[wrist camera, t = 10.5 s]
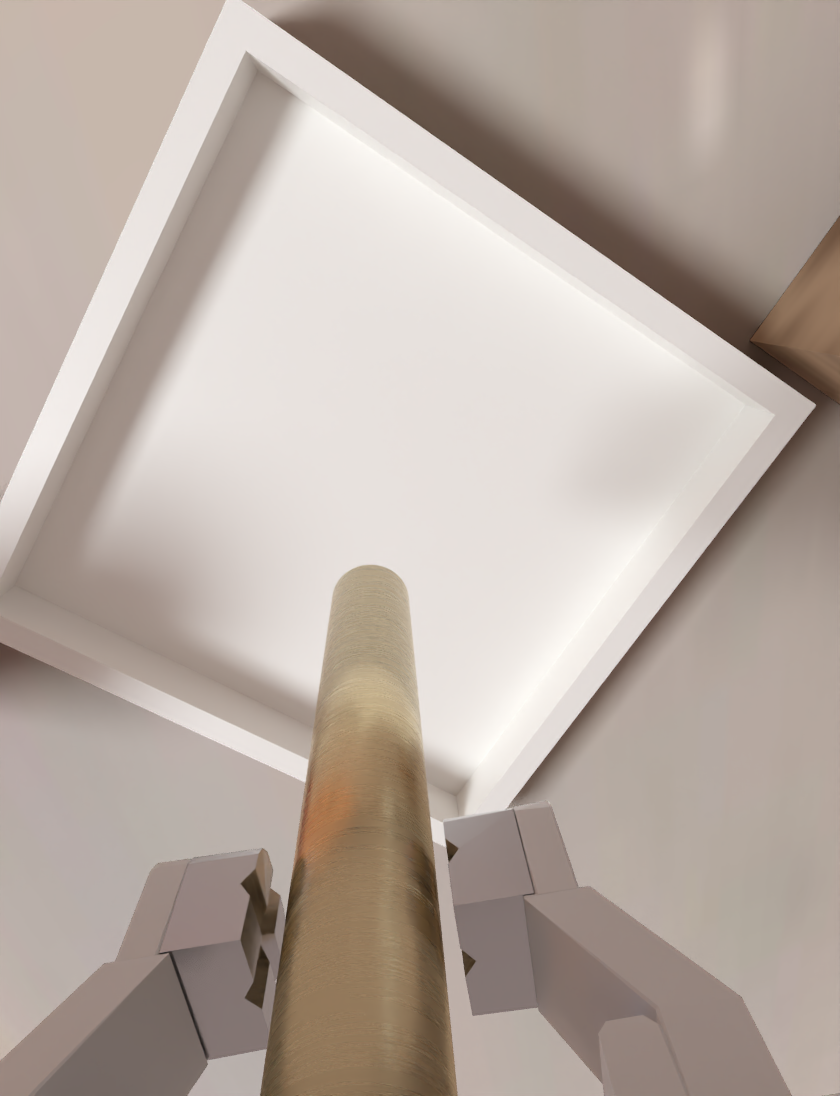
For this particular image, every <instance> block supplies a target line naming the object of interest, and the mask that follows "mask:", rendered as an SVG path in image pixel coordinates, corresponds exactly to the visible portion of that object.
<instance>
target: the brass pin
mask: <svg viewBox="0 0 840 1096" xmlns="http://www.w3.org/2000/svg"><path fill="white" fill-rule="evenodd" d="M260 1096H458V1095H457V1085H456V1074H455V1064H454V1054H453V1044H452V1034H451V1024H450V1013H449V1003H448V993H447V983H446V973H445V962H444V952H443V942H442V932H441V922H440V911H439V901H438V891H437V881H436V871H435V860H434V850H433V840H432V830H431V820H430V809H429V799H428V789H427V779H426V769H425V758H424V748H423V738H422V728H421V718H420V707H419V697H418V687H417V677H416V667H415V656H414V646H413V636H412V626H411V616H410V605H409V596H408V591H407V588H406V586H405V584H404V582H403V581H402V579H401V578H400V577H399V576H398V575H397V574H396V573H395V572H393V571H391V570H390V569H388V568H386V567H382V566H378V565H363V566H359V567H356V568H353V569H351V570H350V571H348V572H346V573H345V574H344V575H343V576H342V577H341V578H340V579H339V581H338V582H337V584H336V586H335V588H334V591H333V595H332V602H331V609H330V616H329V623H328V630H327V637H326V644H325V651H324V658H323V664H322V671H321V678H320V685H319V692H318V699H317V706H316V713H315V720H314V727H313V734H312V740H311V747H310V754H309V761H308V768H307V775H306V782H305V789H304V796H303V803H302V810H301V817H300V823H299V830H298V837H297V844H296V851H295V858H294V865H293V872H292V879H291V886H290V893H289V899H288V906H287V913H286V920H285V927H284V934H283V941H282V948H281V955H280V962H279V969H278V976H277V982H276V989H275V996H274V1003H273V1010H272V1017H271V1024H270V1031H269V1038H268V1045H267V1052H266V1058H265V1065H264V1072H263V1079H262V1086H261V1093H260Z"/></svg>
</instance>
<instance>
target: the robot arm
mask: <svg viewBox="0 0 840 1096" xmlns="http://www.w3.org/2000/svg"><path fill="white" fill-rule="evenodd" d="M443 825H444V835H445V842H446V848H447V854H448V860H449V864H448V868H449V875H450V883H451V891H452V899H453V906H454V912H455V918H456V924H457V931H458V937H459V943H460V949H462V955H463V963H464V970H465V977H466V983H467V988H468V993H469V999H470V1004H471V1009H472V1015H473V1016H475V1015H483V1014H491V1013H498V1012H506V1011H514V1010H522V1009H529V1008H537V1007H538V1009H539V1012H540V1013H541V1014H542V1015H543V1016H544V1017H545V1019H546V1020H547V1021H548V1022H549V1023H550V1024H551V1025H552V1027H553V1028H554V1029H555V1030H556V1031H557V1032H558V1033H559V1035H560V1036H561V1037H562V1038H563V1039H564V1040H565V1041H566V1043H567V1044H568V1045H569V1046H570V1047H571V1048H572V1049H573V1051H574V1052H575V1053H576V1054H577V1055H578V1056H579V1058H580V1059H581V1060H582V1061H583V1062H584V1063H585V1064H586V1066H587V1067H588V1068H589V1069H590V1070H591V1071H592V1072H593V1074H594V1075H595V1076H596V1077H597V1078H598V1079H599V1080H600V1082H601V1083H602V1084H603V1090H604V1096H792V1095H791V1093H790V1091H789V1089H788V1087H787V1085H786V1083H785V1081H784V1079H783V1077H782V1075H781V1073H780V1071H779V1069H778V1068H777V1066H776V1064H775V1062H774V1060H773V1058H772V1056H771V1054H770V1052H769V1050H768V1048H767V1046H766V1044H765V1042H764V1040H763V1038H762V1036H761V1034H760V1032H759V1030H758V1028H757V1026H756V1024H755V1022H754V1020H753V1018H752V1016H751V1014H750V1012H749V1011H748V1009H747V1007H746V1005H745V1003H744V1001H743V999H742V997H741V996H740V995H738V994H737V993H736V992H734V991H733V990H731V989H730V988H729V987H727V986H726V985H725V984H723V983H722V982H720V981H719V980H718V979H716V978H715V977H714V976H712V975H711V974H709V973H708V972H707V971H705V970H704V969H703V968H701V967H700V966H699V965H697V964H696V963H694V962H693V961H692V960H690V959H689V958H688V957H686V956H685V955H683V954H682V953H681V952H679V951H678V950H677V949H675V948H674V947H673V946H671V945H670V944H668V943H667V942H666V941H664V940H663V939H662V938H660V937H659V936H657V935H656V934H655V933H653V932H652V931H651V930H649V929H648V928H646V927H645V926H644V925H642V924H641V923H640V922H638V921H637V920H636V919H634V918H633V917H631V916H630V915H629V914H627V913H626V912H625V911H623V910H622V909H620V908H619V907H618V906H616V905H615V904H614V903H612V902H611V901H609V900H608V899H607V898H605V897H604V896H603V895H601V894H600V893H599V892H597V891H596V890H594V889H593V888H592V887H590V886H586V887H578V884H577V881H576V878H575V875H574V872H573V869H572V866H571V863H570V860H569V857H568V854H567V851H566V848H565V845H564V842H563V839H562V836H561V833H560V830H559V827H558V824H557V821H556V818H555V815H554V812H553V809H552V806H551V804H550V803H549V802H548V801H543V802H537V803H532V804H526V805H521V806H515V807H513V809H512V808H509V809H503V810H497V811H491V812H485V813H479V814H473V815H467V816H461V817H455V818H449V819H443ZM272 875H273V868H272V865H271V862H270V858H269V855H268V852H267V851H266V850H264V849H263V848H260V849H253V850H245V851H238V852H231V853H223V854H216V855H208V856H201V857H194V858H193V859H183V860H176V861H169V862H162V863H158V864H157V865H156V866H155V867H154V868H153V869H152V870H151V871H150V873H149V876H148V878H147V881H146V883H145V886H144V889H143V891H142V894H141V896H140V899H139V901H138V904H137V906H136V909H135V912H134V914H133V917H132V919H131V922H130V924H129V927H128V929H127V932H126V935H125V937H124V940H123V942H122V945H121V947H120V950H119V953H118V955H117V958H116V960H115V962H110V963H104V964H103V965H102V966H101V967H100V968H99V969H98V970H97V971H96V972H94V973H93V974H92V975H91V976H90V977H89V978H88V979H87V980H86V981H85V982H84V983H83V984H82V985H81V986H80V987H78V988H77V989H76V990H75V991H74V992H73V993H72V994H71V995H70V996H69V997H68V998H67V999H66V1000H65V1001H64V1002H63V1003H61V1004H60V1005H59V1006H58V1007H57V1008H56V1009H55V1010H54V1011H53V1012H52V1013H51V1014H50V1015H49V1016H48V1017H47V1018H45V1019H44V1020H43V1021H42V1022H41V1023H40V1024H39V1025H38V1026H37V1027H36V1028H35V1029H34V1030H33V1031H32V1032H31V1033H30V1034H28V1035H27V1036H26V1037H25V1038H24V1039H23V1040H22V1041H21V1042H20V1043H19V1044H18V1045H17V1046H16V1047H15V1048H14V1049H12V1050H11V1051H10V1052H9V1053H8V1054H7V1055H6V1056H5V1057H4V1058H3V1059H2V1060H1V1061H0V1096H187V1095H188V1093H189V1092H190V1090H191V1089H192V1087H193V1086H194V1084H195V1083H196V1081H197V1080H198V1078H199V1077H200V1076H201V1074H202V1073H203V1071H204V1070H205V1068H206V1067H207V1065H208V1063H207V1060H211V1059H216V1058H222V1057H227V1056H232V1055H237V1054H242V1053H248V1052H253V1051H258V1050H263V1049H267V1045H268V1038H269V1031H270V1024H271V1017H272V1010H273V1003H274V996H275V989H276V982H275V980H276V979H277V976H278V969H279V962H280V955H281V948H282V941H283V934H284V927H285V914H284V908H283V904H282V901H281V897H280V895H279V894H278V893H276V892H275V891H274V890H272V889H271V888H270V887H271V881H272ZM824 1096H840V1093H837V1094H830V1095H824Z"/></svg>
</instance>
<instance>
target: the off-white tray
mask: <svg viewBox="0 0 840 1096" xmlns="http://www.w3.org/2000/svg"><path fill="white" fill-rule="evenodd" d="M815 406H816V404H814V403H813V402H811V401H810V400H808V399H807V398H806V397H804V396H803V395H801V394H800V393H799V392H797V391H796V390H794V389H793V388H791V387H790V386H789V385H787V384H786V383H784V382H783V381H781V380H780V379H779V378H777V377H776V376H774V375H773V374H772V373H770V372H769V371H767V370H766V369H764V368H763V367H762V366H760V365H759V364H757V363H756V362H754V361H753V360H752V359H750V358H749V357H747V356H746V355H745V354H743V353H742V352H740V351H739V350H737V349H736V348H735V347H733V346H732V345H730V344H729V343H727V342H726V341H725V340H723V339H722V338H720V337H719V336H718V335H716V334H715V333H713V332H712V331H710V330H709V329H708V328H706V327H705V326H703V325H702V324H700V323H699V322H698V321H696V320H695V319H693V318H692V317H691V316H689V315H688V314H686V313H685V312H683V311H682V310H681V309H679V308H678V307H676V306H675V305H674V304H672V303H671V302H669V301H668V300H666V299H665V298H664V297H662V296H661V295H659V294H658V293H656V292H655V291H654V290H652V289H651V288H649V287H648V286H647V285H645V284H644V283H642V282H641V281H639V280H638V279H637V278H635V277H634V276H632V275H631V274H629V273H628V272H627V271H625V270H624V269H622V268H621V267H620V266H618V265H617V264H615V263H614V262H612V261H611V260H610V259H608V258H607V257H605V256H604V255H602V254H601V253H600V252H598V251H597V250H595V249H594V248H593V247H591V246H590V245H588V244H587V243H585V242H584V241H583V240H581V239H580V238H578V237H577V236H575V235H574V234H573V233H571V232H570V231H568V230H567V229H566V228H564V227H563V226H561V225H560V224H558V223H557V222H556V221H554V220H553V219H551V218H550V217H548V216H547V215H546V214H544V213H543V212H541V211H540V210H539V209H537V208H536V207H534V206H533V205H531V204H530V203H529V202H527V201H526V200H524V199H523V198H521V197H520V196H519V195H517V194H516V193H514V192H513V191H512V190H510V189H509V188H507V187H506V186H504V185H503V184H502V183H500V182H499V181H497V180H496V179H494V178H493V177H492V176H490V175H489V174H487V173H486V172H485V171H483V170H482V169H480V168H479V167H477V166H476V165H475V164H473V163H472V162H470V161H469V160H467V159H466V158H465V157H463V156H462V155H460V154H459V153H458V152H456V151H455V150H453V149H452V148H450V147H449V146H448V145H446V144H445V143H443V142H442V141H440V140H439V139H438V138H436V137H435V136H433V135H432V134H431V133H429V132H428V131H426V130H425V129H423V128H422V127H421V126H419V125H418V124H416V123H415V122H413V121H412V120H411V119H409V118H408V117H406V116H405V115H404V114H402V113H401V112H399V111H398V110H396V109H395V108H394V107H392V106H391V105H389V104H388V103H386V102H385V101H384V100H382V99H381V98H379V97H378V96H377V95H375V94H374V93H372V92H371V91H369V90H368V89H367V88H365V87H364V86H362V85H361V84H360V83H358V82H357V81H355V80H354V79H352V78H351V77H350V76H348V75H347V74H345V73H344V72H342V71H341V70H340V69H338V68H337V67H335V66H334V65H333V64H331V63H330V62H328V61H327V60H325V59H324V58H323V57H321V56H320V55H318V54H317V53H315V52H314V51H313V50H311V49H310V48H308V47H307V46H306V45H304V44H303V43H301V42H300V41H298V40H297V39H296V38H294V37H293V36H291V35H290V34H288V33H287V32H286V31H284V30H283V29H281V28H280V27H279V26H277V25H276V24H274V23H273V22H271V21H270V20H269V19H267V18H266V17H264V16H263V15H261V14H260V13H259V12H257V11H256V10H254V9H253V8H252V7H250V6H249V5H247V4H246V3H244V2H243V1H242V0H226V2H225V4H224V6H223V8H222V11H221V13H220V15H219V17H218V20H217V22H216V24H215V26H214V28H213V31H212V33H211V35H210V37H209V40H208V42H207V44H206V46H205V49H204V51H203V53H202V55H201V57H200V60H199V62H198V64H197V66H196V69H195V71H194V73H193V75H192V77H191V80H190V82H189V84H188V86H187V89H186V91H185V93H184V95H183V97H182V100H181V102H180V104H179V106H178V109H177V111H176V113H175V115H174V118H173V120H172V122H171V124H170V126H169V129H168V131H167V133H166V135H165V138H164V140H163V142H162V144H161V146H160V149H159V151H158V153H157V155H156V158H155V160H154V162H153V164H152V167H151V169H150V171H149V173H148V175H147V178H146V180H145V182H144V184H143V187H142V189H141V191H140V193H139V195H138V198H137V200H136V202H135V204H134V207H133V209H132V211H131V213H130V216H129V218H128V220H127V222H126V224H125V227H124V229H123V231H122V233H121V236H120V238H119V240H118V242H117V244H116V247H115V249H114V251H113V253H112V256H111V258H110V260H109V262H108V265H107V267H106V269H105V271H104V273H103V276H102V278H101V280H100V282H99V285H98V287H97V289H96V291H95V293H94V296H93V298H92V300H91V302H90V305H89V307H88V309H87V311H86V313H85V316H84V318H83V320H82V322H81V325H80V327H79V329H78V331H77V334H76V336H75V338H74V340H73V342H72V345H71V347H70V349H69V351H68V354H67V356H66V358H65V360H64V362H63V365H62V367H61V369H60V371H59V374H58V376H57V378H56V380H55V383H54V385H53V387H52V389H51V391H50V394H49V396H48V398H47V400H46V403H45V405H44V407H43V409H42V411H41V414H40V416H39V418H38V420H37V423H36V425H35V427H34V429H33V432H32V434H31V436H30V438H29V440H28V443H27V445H26V447H25V449H24V452H23V454H22V456H21V458H20V460H19V463H18V465H17V467H16V469H15V472H14V474H13V476H12V478H11V481H10V483H9V485H8V487H7V489H6V492H5V494H4V496H3V498H2V501H1V503H0V643H3V644H5V645H7V646H9V647H11V648H13V649H16V650H18V651H20V652H22V653H24V654H26V655H29V656H31V657H33V658H35V659H37V660H40V661H42V662H44V663H46V664H48V665H50V666H53V667H55V668H57V669H59V670H61V671H63V672H66V673H68V674H70V675H72V676H74V677H77V678H79V679H81V680H83V681H85V682H87V683H90V684H92V685H94V686H96V687H98V688H100V689H103V690H105V691H107V692H109V693H111V694H114V695H116V696H118V697H120V698H122V699H124V700H127V701H129V702H131V703H133V704H135V705H137V706H140V707H142V708H144V709H146V710H148V711H151V712H153V713H155V714H157V715H159V716H161V717H164V718H166V719H168V720H170V721H172V722H174V723H177V724H179V725H181V726H183V727H185V728H188V729H190V730H192V731H194V732H196V733H198V734H201V735H203V736H205V737H207V738H209V739H211V740H214V741H216V742H218V743H220V744H222V745H225V746H227V747H229V748H231V749H233V750H235V751H238V752H240V753H242V754H244V755H246V756H248V757H251V758H253V759H255V760H257V761H259V762H261V763H264V764H266V765H268V766H270V767H272V768H275V769H277V770H279V771H281V772H283V773H285V774H288V775H290V776H292V777H294V778H296V779H298V780H301V781H303V782H306V775H307V768H308V761H309V754H310V747H311V740H312V734H313V727H314V720H315V713H316V706H317V699H318V692H319V685H320V678H321V671H322V664H323V658H324V651H325V644H326V637H327V630H328V623H329V616H330V609H331V602H332V595H333V591H334V588H335V586H336V584H337V582H338V581H339V579H340V578H341V577H342V576H343V575H344V574H345V573H346V572H348V571H350V570H351V569H353V568H356V567H359V566H363V565H378V566H382V567H386V568H388V569H390V570H391V571H393V572H395V573H396V574H397V575H398V576H399V577H400V578H401V579H402V581H403V582H404V584H405V586H406V588H407V591H408V596H409V605H410V616H411V626H412V636H413V646H414V656H415V667H416V677H417V687H418V697H419V707H420V718H421V728H422V738H423V748H424V758H425V769H426V779H427V789H428V799H429V809H430V820H431V830H432V840H433V842H436V843H438V844H440V845H442V846H444V847H446V842H445V835H444V825H443V819H449V818H455V817H461V816H467V815H473V814H479V813H485V812H491V811H497V810H503V809H506V808H507V807H508V805H509V804H510V803H511V802H512V800H513V799H514V798H515V796H516V795H517V794H518V792H519V791H520V790H521V789H522V787H523V786H524V785H525V783H526V782H527V781H528V779H529V778H530V777H531V776H532V774H533V773H534V772H535V770H536V769H537V768H538V766H539V765H540V764H541V763H542V761H543V760H544V759H545V757H546V756H547V755H548V753H549V752H550V751H551V750H552V748H553V747H554V746H555V744H556V743H557V742H558V740H559V739H560V738H561V737H562V735H563V734H564V733H565V731H566V730H567V729H568V727H569V726H570V725H571V724H572V722H573V721H574V720H575V718H576V717H577V716H578V714H579V713H580V712H581V710H582V709H583V708H584V707H585V705H586V704H587V703H588V701H589V700H590V699H591V697H592V696H593V695H594V694H595V692H596V691H597V690H598V688H599V687H600V686H601V684H602V683H603V682H604V681H605V679H606V678H607V677H608V675H609V674H610V673H611V671H612V670H613V669H614V668H615V666H616V665H617V664H618V662H619V661H620V660H621V658H622V657H623V656H624V655H625V653H626V652H627V651H628V649H629V648H630V647H631V645H632V644H633V643H634V642H635V640H636V639H637V638H638V636H639V635H640V634H641V632H642V631H643V630H644V629H645V627H646V626H647V625H648V623H649V622H650V621H651V619H652V618H653V617H654V616H655V614H656V613H657V612H658V610H659V609H660V608H661V606H662V605H663V604H664V603H665V601H666V600H667V599H668V597H669V596H670V595H671V593H672V592H673V591H674V590H675V588H676V587H677V586H678V584H679V583H680V582H681V580H682V579H683V578H684V577H685V575H686V574H687V573H688V571H689V570H690V569H691V567H692V566H693V565H694V564H695V562H696V561H697V560H698V558H699V557H700V556H701V554H702V553H703V552H704V551H705V549H706V548H707V547H708V545H709V544H710V543H711V541H712V540H713V539H714V538H715V536H716V535H717V534H718V532H719V531H720V530H721V528H722V527H723V526H724V525H725V523H726V522H727V521H728V519H729V518H730V517H731V515H732V514H733V513H734V512H735V510H736V509H737V508H738V506H739V505H740V504H741V502H742V501H743V500H744V499H745V497H746V496H747V495H748V493H749V492H750V491H751V489H752V488H753V487H754V486H755V484H756V483H757V482H758V480H759V479H760V478H761V476H762V475H763V474H764V473H765V471H766V470H767V469H768V467H769V466H770V465H771V463H772V462H773V461H774V460H775V458H776V457H777V456H778V454H779V453H780V452H781V450H782V449H783V448H784V447H785V445H786V444H787V443H788V441H789V440H790V439H791V437H792V436H793V435H794V434H795V432H796V431H797V430H798V428H799V427H800V426H801V424H802V423H803V422H804V421H805V419H806V418H807V417H808V415H809V414H810V413H811V411H812V410H813V409H814V408H815Z"/></svg>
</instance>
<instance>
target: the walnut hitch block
mask: <svg viewBox="0 0 840 1096" xmlns="http://www.w3.org/2000/svg"><path fill="white" fill-rule="evenodd" d="M750 341H751V342H753V343H754V344H755V345H757V346H758V347H760V348H761V349H762V350H764V351H765V352H767V353H768V354H769V355H771V356H772V357H774V358H775V359H776V360H778V361H779V362H781V363H782V364H783V365H785V366H786V367H788V368H789V369H791V370H792V371H793V372H795V373H796V374H798V375H799V376H800V377H802V378H803V379H805V380H806V381H807V382H809V383H810V384H812V385H813V386H814V387H816V388H817V389H819V390H820V391H821V392H823V393H824V394H826V395H827V396H829V397H830V398H831V399H833V400H834V401H836V402H837V403H838V404H840V216H839V218H838V219H837V220H836V222H835V223H834V225H833V226H832V227H831V229H830V230H829V231H828V233H827V234H826V236H825V237H824V238H823V240H822V241H821V243H820V244H819V245H818V247H817V248H816V249H815V251H814V252H813V254H812V255H811V256H810V258H809V259H808V261H807V262H806V263H805V265H804V266H803V267H802V269H801V270H800V272H799V273H798V274H797V276H796V277H795V279H794V280H793V281H792V283H791V284H790V285H789V287H788V288H787V290H786V291H785V292H784V294H783V295H782V297H781V298H780V299H779V301H778V302H777V303H776V305H775V306H774V308H773V309H772V310H771V312H770V313H769V315H768V316H767V317H766V319H765V320H764V321H763V323H762V324H761V326H760V327H759V328H758V330H757V331H756V333H755V334H754V335H753V337H752V338H751V339H750Z"/></svg>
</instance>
